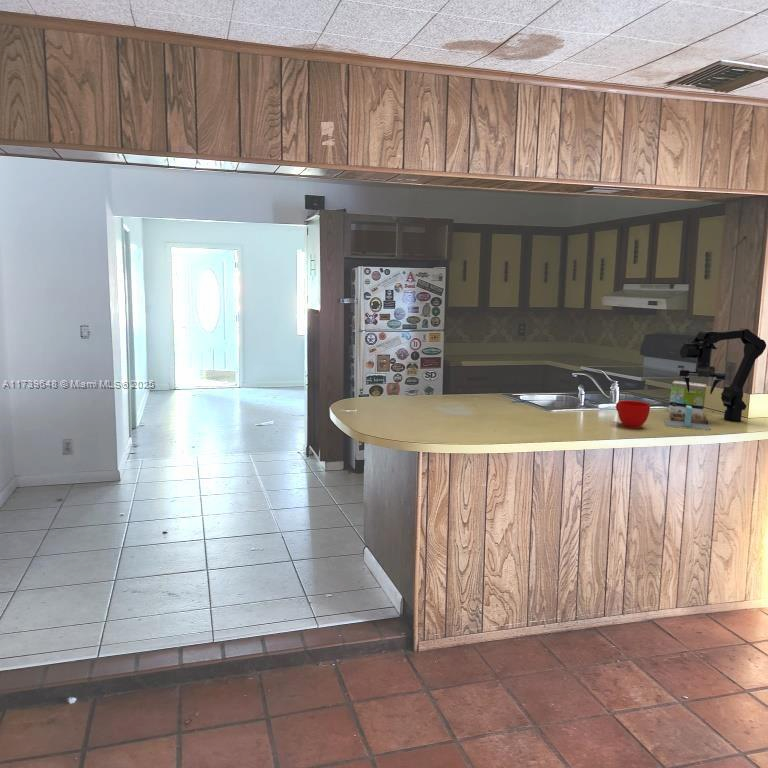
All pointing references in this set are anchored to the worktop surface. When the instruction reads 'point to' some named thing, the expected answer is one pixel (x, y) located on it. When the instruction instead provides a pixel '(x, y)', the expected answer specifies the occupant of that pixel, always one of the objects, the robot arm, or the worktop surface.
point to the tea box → (687, 397)
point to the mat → (693, 425)
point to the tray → (682, 416)
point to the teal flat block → (688, 416)
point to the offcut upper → (698, 416)
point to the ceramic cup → (632, 413)
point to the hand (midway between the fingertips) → (699, 393)
